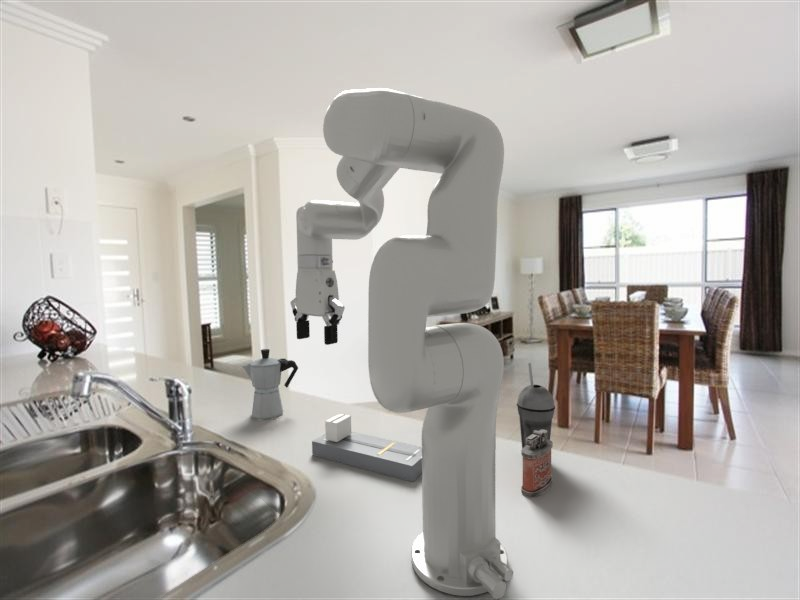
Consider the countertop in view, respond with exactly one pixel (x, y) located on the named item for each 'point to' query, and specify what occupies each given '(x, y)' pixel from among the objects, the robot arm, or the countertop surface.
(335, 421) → the fader knob
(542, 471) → the lighter
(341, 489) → the countertop surface
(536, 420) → the beverage cup
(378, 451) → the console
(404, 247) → the robot arm
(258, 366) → the coffee maker
